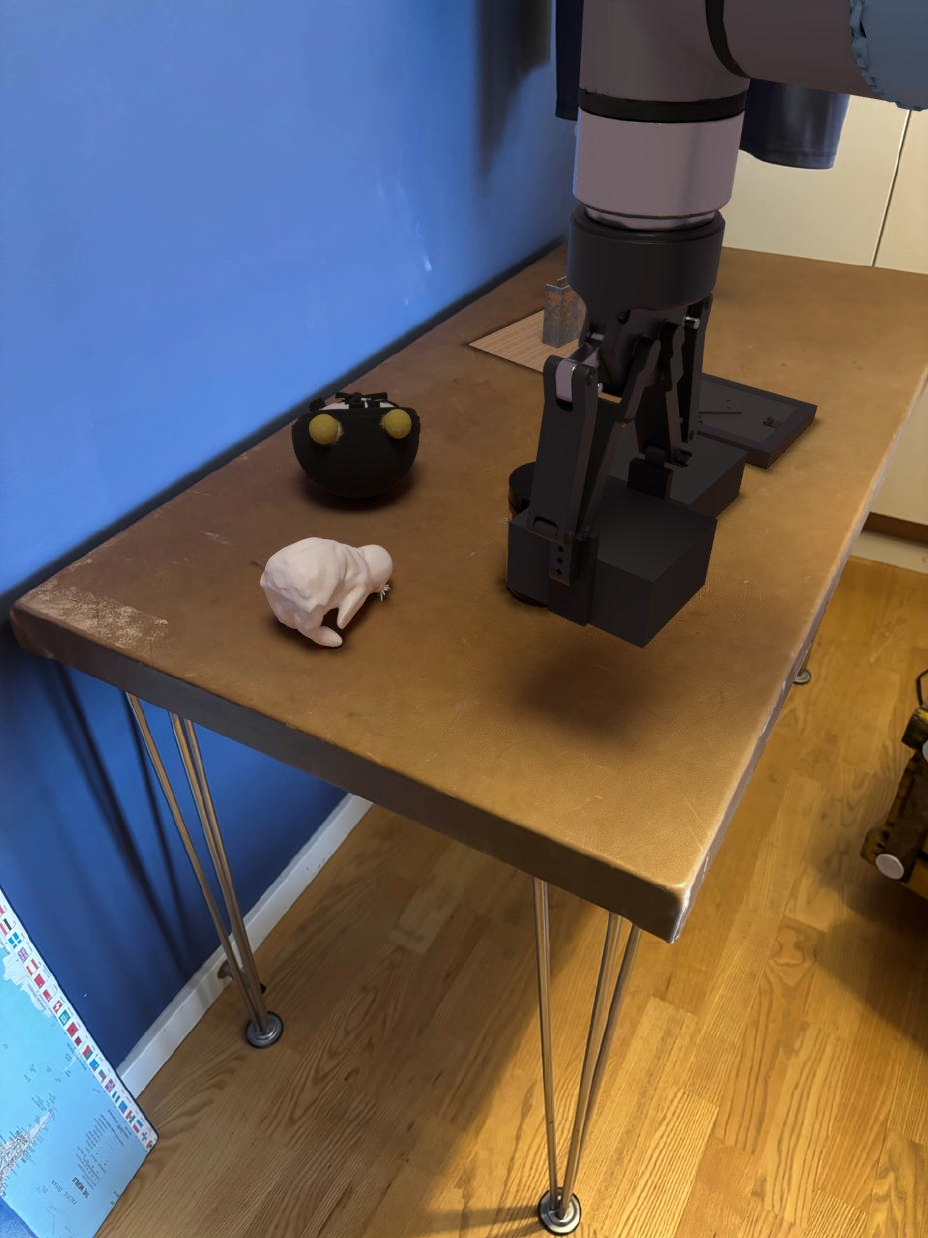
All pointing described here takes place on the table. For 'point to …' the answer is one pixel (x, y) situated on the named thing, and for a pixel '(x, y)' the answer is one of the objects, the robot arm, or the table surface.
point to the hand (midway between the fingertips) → (605, 581)
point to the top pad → (626, 561)
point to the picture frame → (750, 418)
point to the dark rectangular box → (691, 472)
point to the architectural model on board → (562, 312)
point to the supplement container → (520, 506)
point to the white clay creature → (323, 583)
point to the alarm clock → (356, 443)
